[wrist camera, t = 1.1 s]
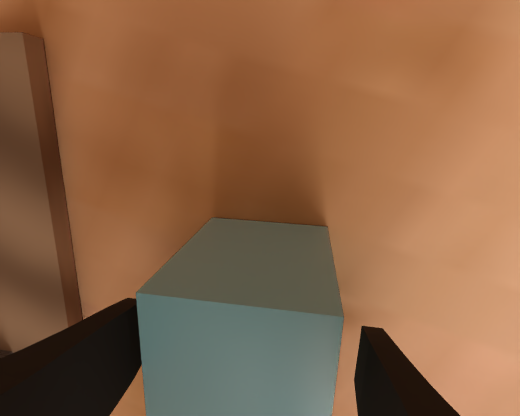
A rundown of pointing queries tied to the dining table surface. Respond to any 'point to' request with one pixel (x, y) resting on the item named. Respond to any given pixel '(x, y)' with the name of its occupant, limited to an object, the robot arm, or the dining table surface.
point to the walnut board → (31, 203)
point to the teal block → (243, 323)
